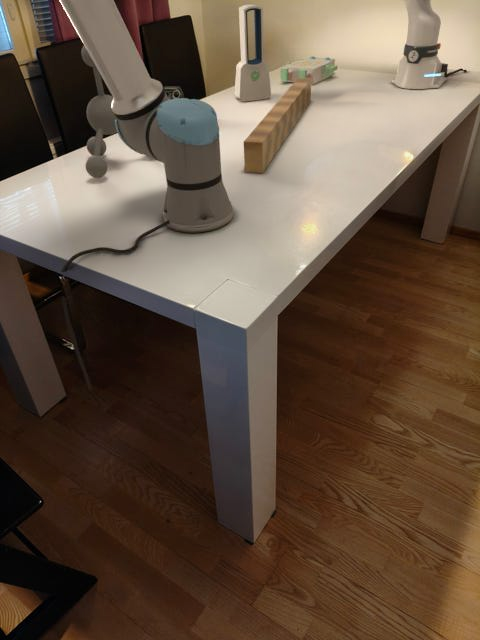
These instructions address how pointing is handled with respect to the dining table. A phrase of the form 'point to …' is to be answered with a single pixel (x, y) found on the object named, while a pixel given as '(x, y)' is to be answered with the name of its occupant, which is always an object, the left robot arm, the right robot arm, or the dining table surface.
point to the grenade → (173, 92)
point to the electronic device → (252, 72)
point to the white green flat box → (309, 69)
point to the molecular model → (98, 123)
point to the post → (276, 126)
